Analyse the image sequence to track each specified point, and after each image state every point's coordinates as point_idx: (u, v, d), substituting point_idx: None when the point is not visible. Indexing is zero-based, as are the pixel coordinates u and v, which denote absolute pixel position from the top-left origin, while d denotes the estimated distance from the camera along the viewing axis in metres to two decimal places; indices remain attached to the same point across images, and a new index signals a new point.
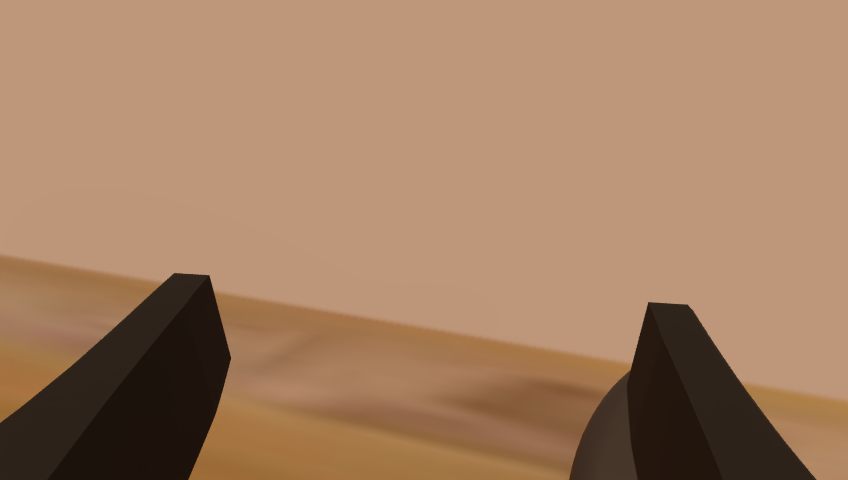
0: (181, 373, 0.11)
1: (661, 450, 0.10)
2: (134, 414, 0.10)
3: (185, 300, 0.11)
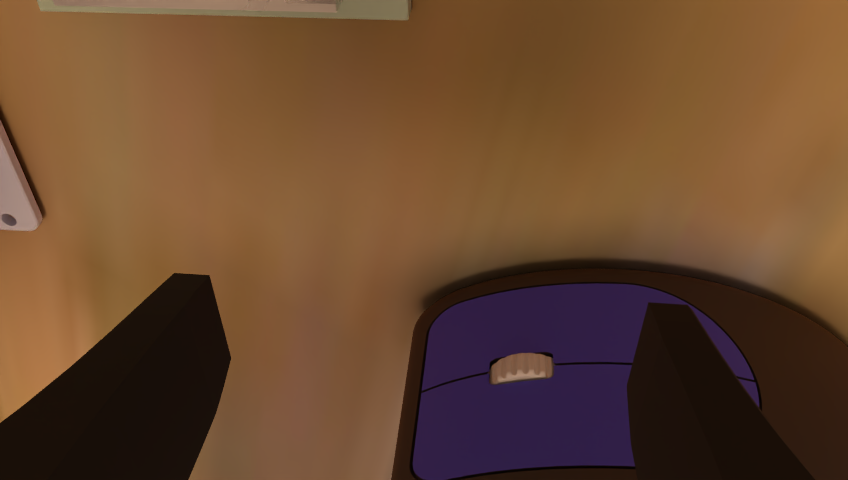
0: (181, 373, 0.11)
1: (662, 450, 0.10)
2: (134, 414, 0.10)
3: (185, 300, 0.11)
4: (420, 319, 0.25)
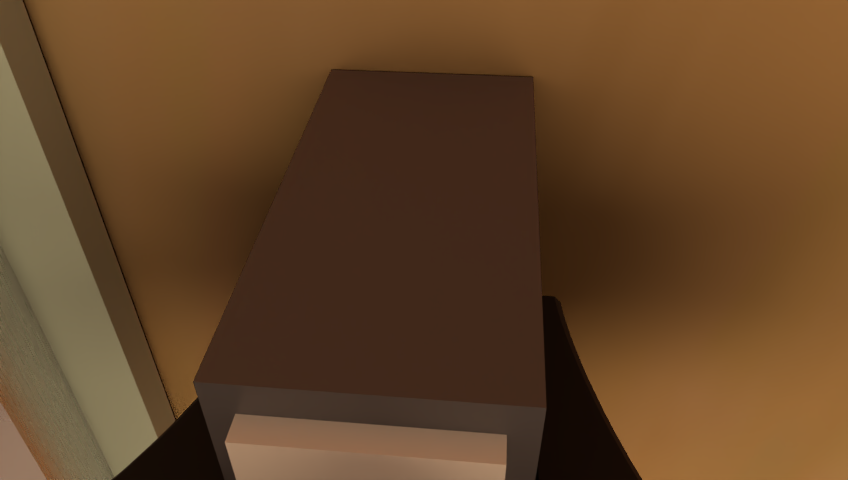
0: None
1: None
2: None
3: None
4: None
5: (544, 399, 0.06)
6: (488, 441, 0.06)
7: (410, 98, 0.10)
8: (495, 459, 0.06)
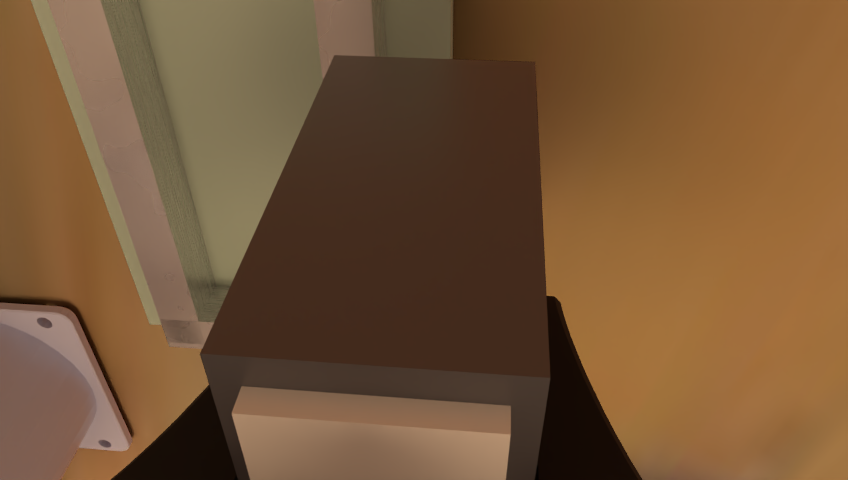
0: None
1: None
2: None
3: None
4: None
5: (548, 370, 0.06)
6: (492, 413, 0.06)
7: (413, 82, 0.10)
8: (499, 429, 0.06)
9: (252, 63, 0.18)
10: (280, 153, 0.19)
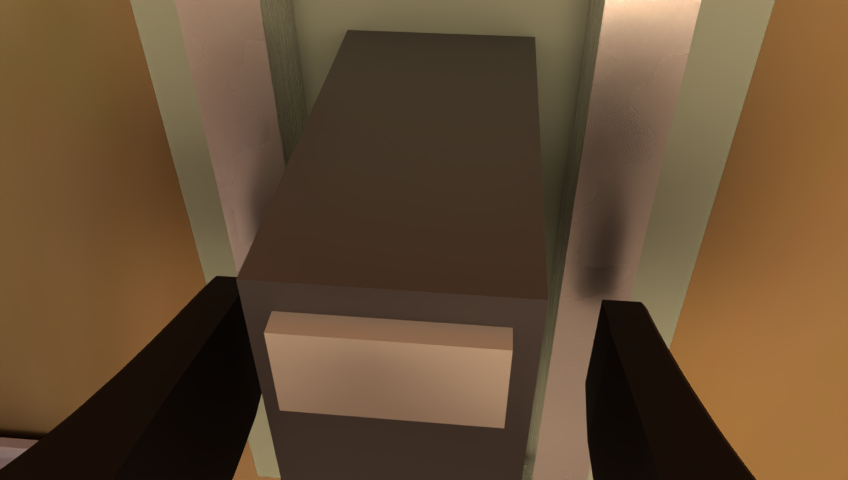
0: (226, 376, 0.11)
1: (610, 445, 0.10)
2: (185, 418, 0.10)
3: (230, 303, 0.11)
4: None
5: (546, 296, 0.07)
6: (495, 335, 0.07)
7: (421, 54, 0.11)
8: (503, 346, 0.07)
9: None
10: None
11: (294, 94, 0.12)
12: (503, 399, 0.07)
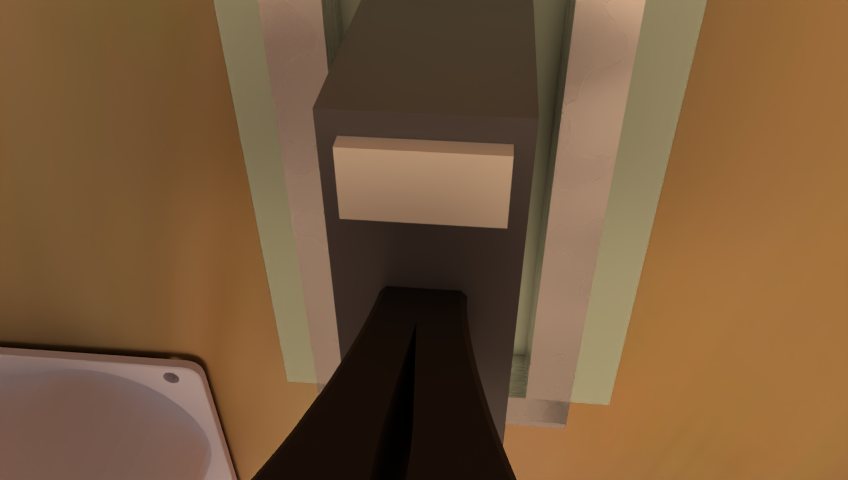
0: (410, 390, 0.11)
1: None
2: (391, 434, 0.09)
3: (415, 315, 0.11)
4: None
5: (538, 119, 0.10)
6: (500, 151, 0.10)
7: None
8: (506, 154, 0.09)
9: None
10: None
11: (334, 14, 0.14)
12: (506, 202, 0.10)
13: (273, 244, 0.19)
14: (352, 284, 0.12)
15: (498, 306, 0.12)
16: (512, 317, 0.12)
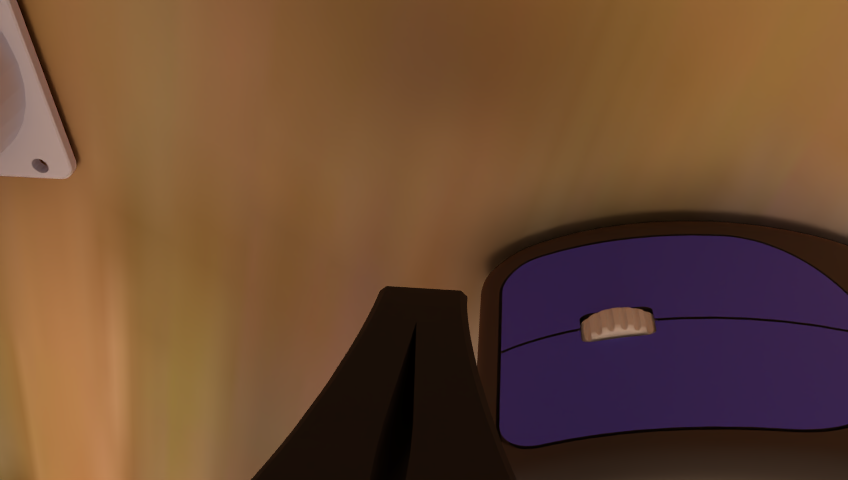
0: (410, 390, 0.11)
1: None
2: (391, 434, 0.09)
3: (415, 315, 0.11)
4: (490, 277, 0.23)
5: None
6: None
7: None
8: None
9: None
10: None
11: None
12: None
13: None
14: None
15: None
16: None
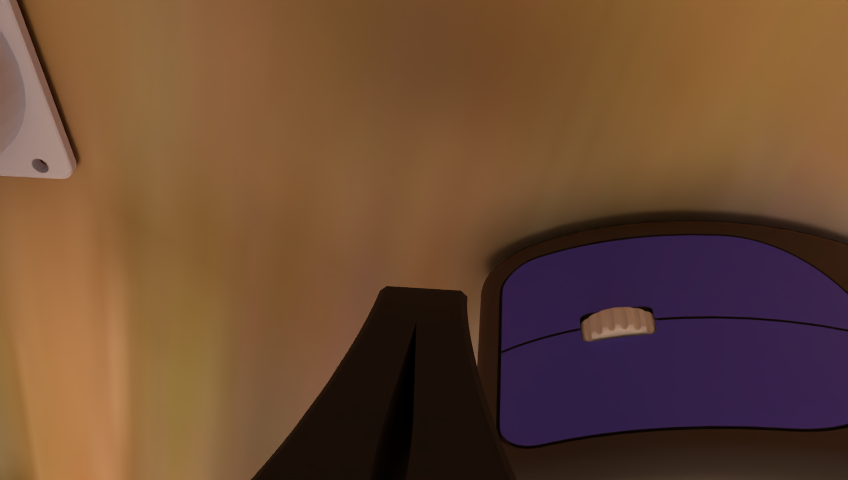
0: (410, 390, 0.11)
1: None
2: (391, 434, 0.09)
3: (415, 315, 0.11)
4: (490, 277, 0.23)
5: None
6: None
7: None
8: None
9: None
10: None
11: None
12: None
13: None
14: None
15: None
16: None
